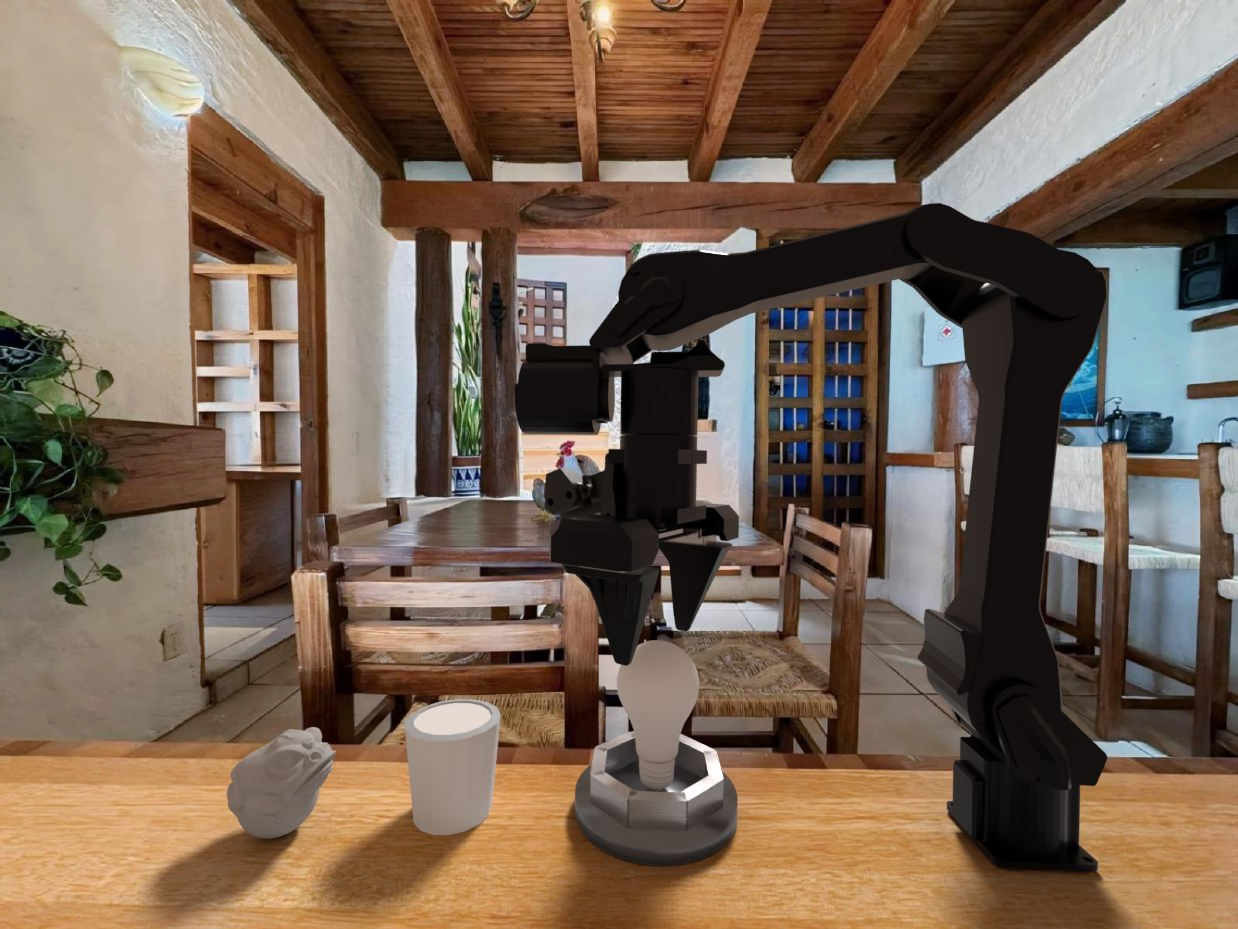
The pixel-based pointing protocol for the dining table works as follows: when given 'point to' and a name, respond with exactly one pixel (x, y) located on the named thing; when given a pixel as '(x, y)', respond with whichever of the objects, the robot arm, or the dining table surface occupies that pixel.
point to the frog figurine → (280, 783)
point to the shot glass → (452, 764)
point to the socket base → (656, 805)
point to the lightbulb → (658, 705)
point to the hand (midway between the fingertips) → (655, 645)
